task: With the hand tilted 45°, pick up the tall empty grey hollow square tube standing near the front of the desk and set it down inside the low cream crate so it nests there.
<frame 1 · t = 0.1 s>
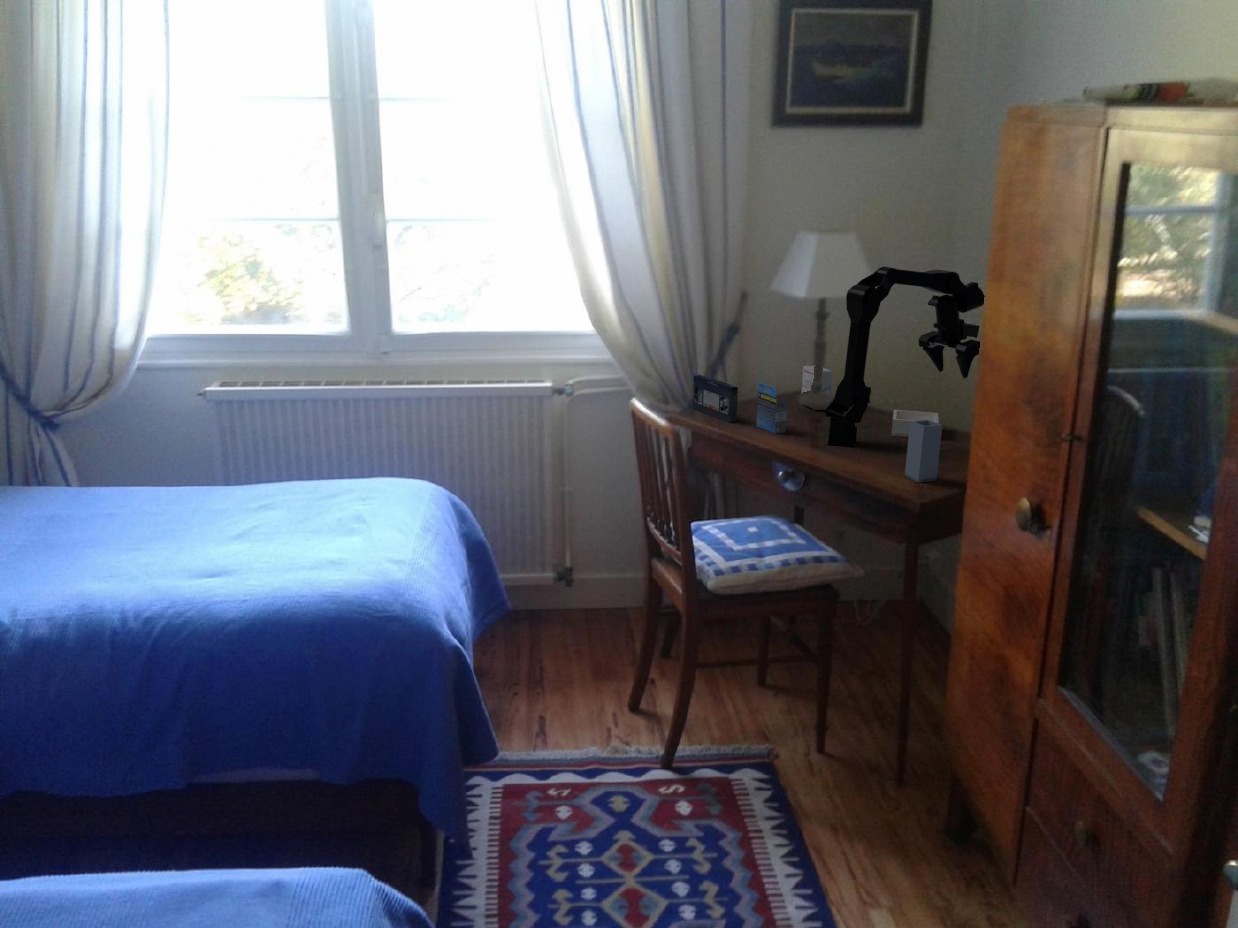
hand: (953, 374, 282), 15 cm above the table, tool pointing down, fingers open, 9 cm apart
cream crate: (914, 432, 285), on the table
grey hollow square tube: (920, 478, 244), on the table
label tape box: (770, 430, 284), on the table
ink box: (814, 408, 310), on the table
vhs cassette tape: (713, 416, 298), on the table
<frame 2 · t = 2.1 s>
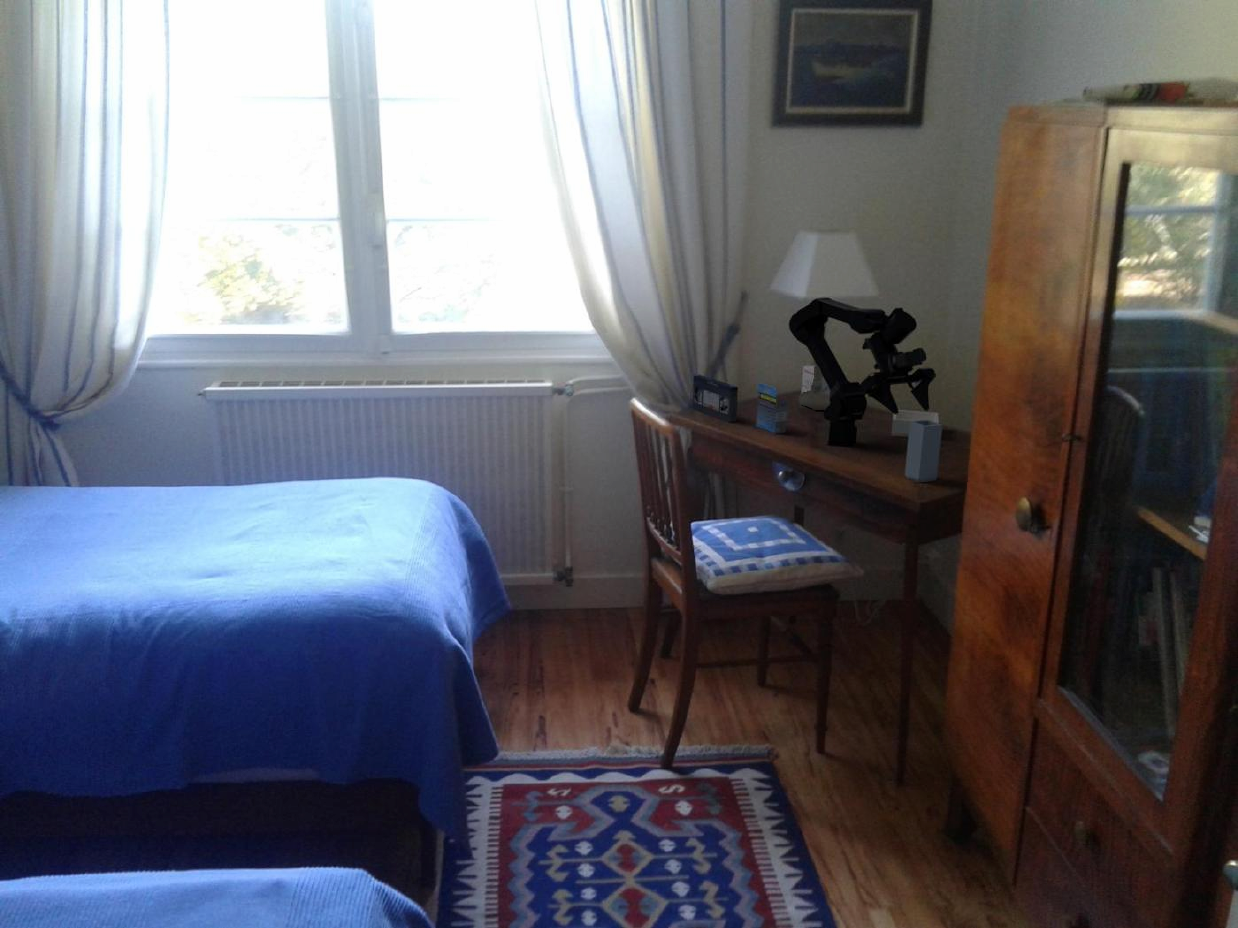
hand: (912, 411, 248), 14 cm above the table, tool tilted 45°, fingers open, 9 cm apart
nothing on the table moved.
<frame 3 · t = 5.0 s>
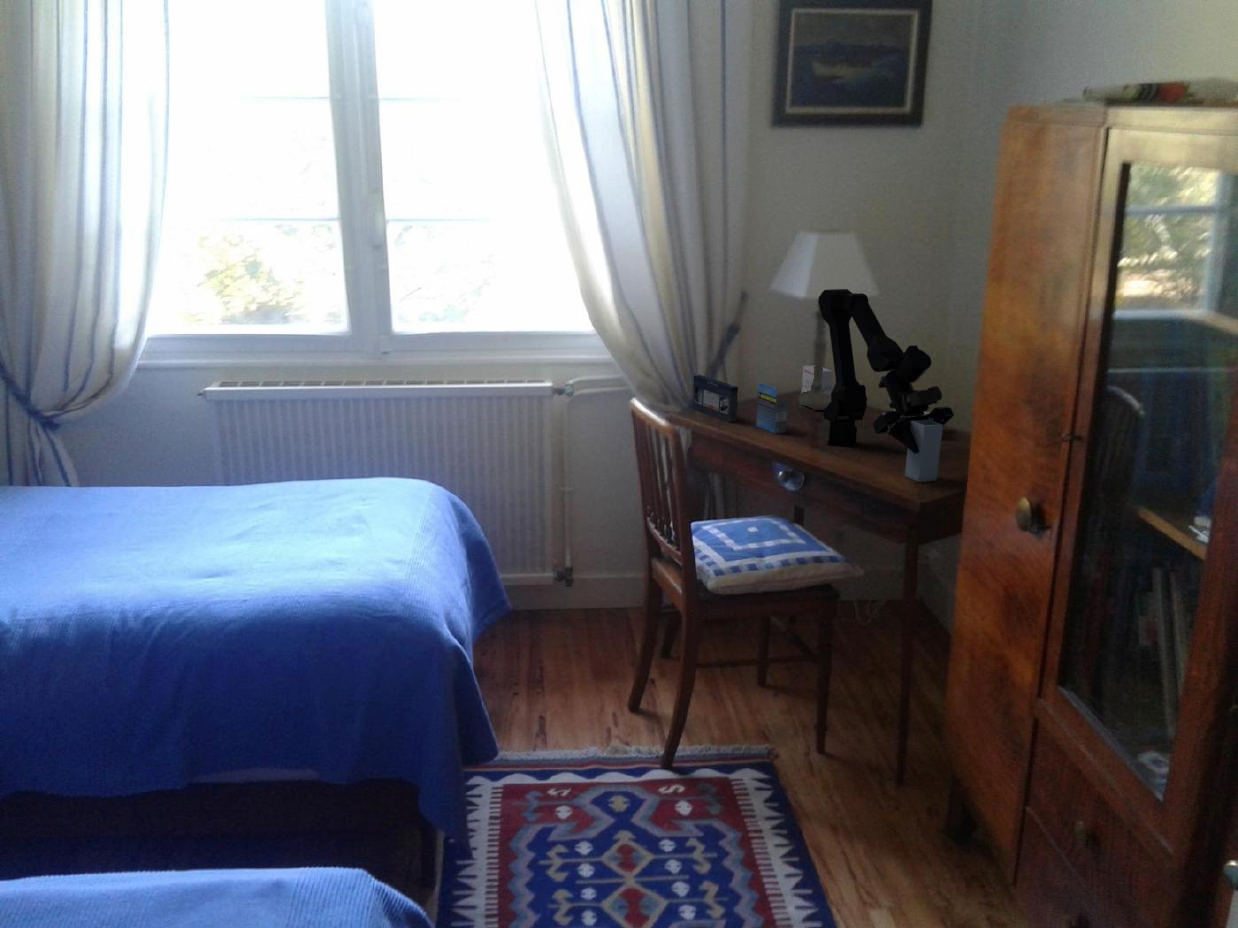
hand: (927, 451, 241), 7 cm above the table, tool tilted 45°, fingers closed on grey hollow square tube, 5 cm apart
grey hollow square tube: (920, 478, 244), on the table, touching gripper
everything else where it was.
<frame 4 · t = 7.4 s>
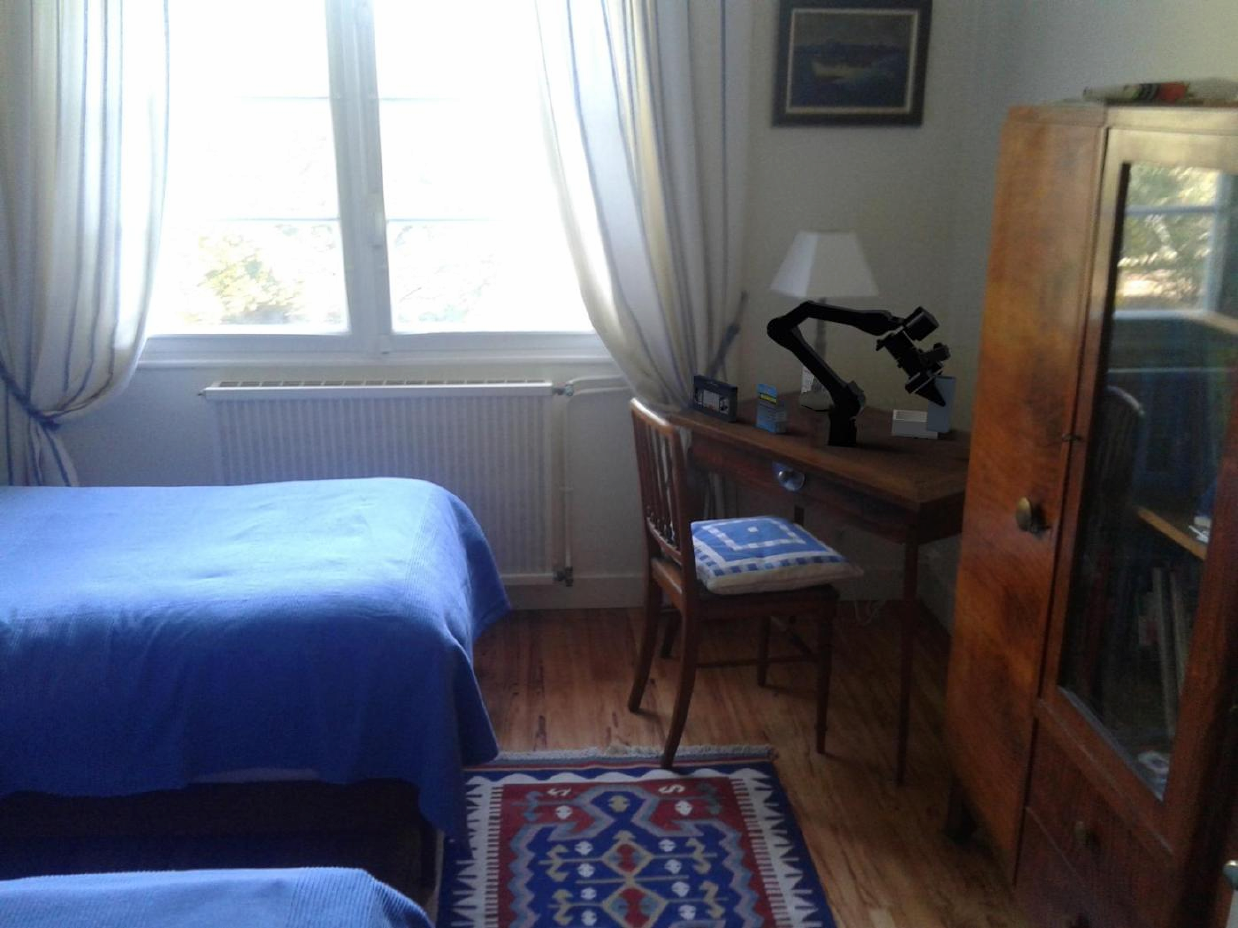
hand: (946, 403, 258), 13 cm above the table, tool tilted 45°, fingers closed on grey hollow square tube, 5 cm apart
grey hollow square tube: (937, 429, 260), point 7 cm above the table, touching gripper
everything else where it was.
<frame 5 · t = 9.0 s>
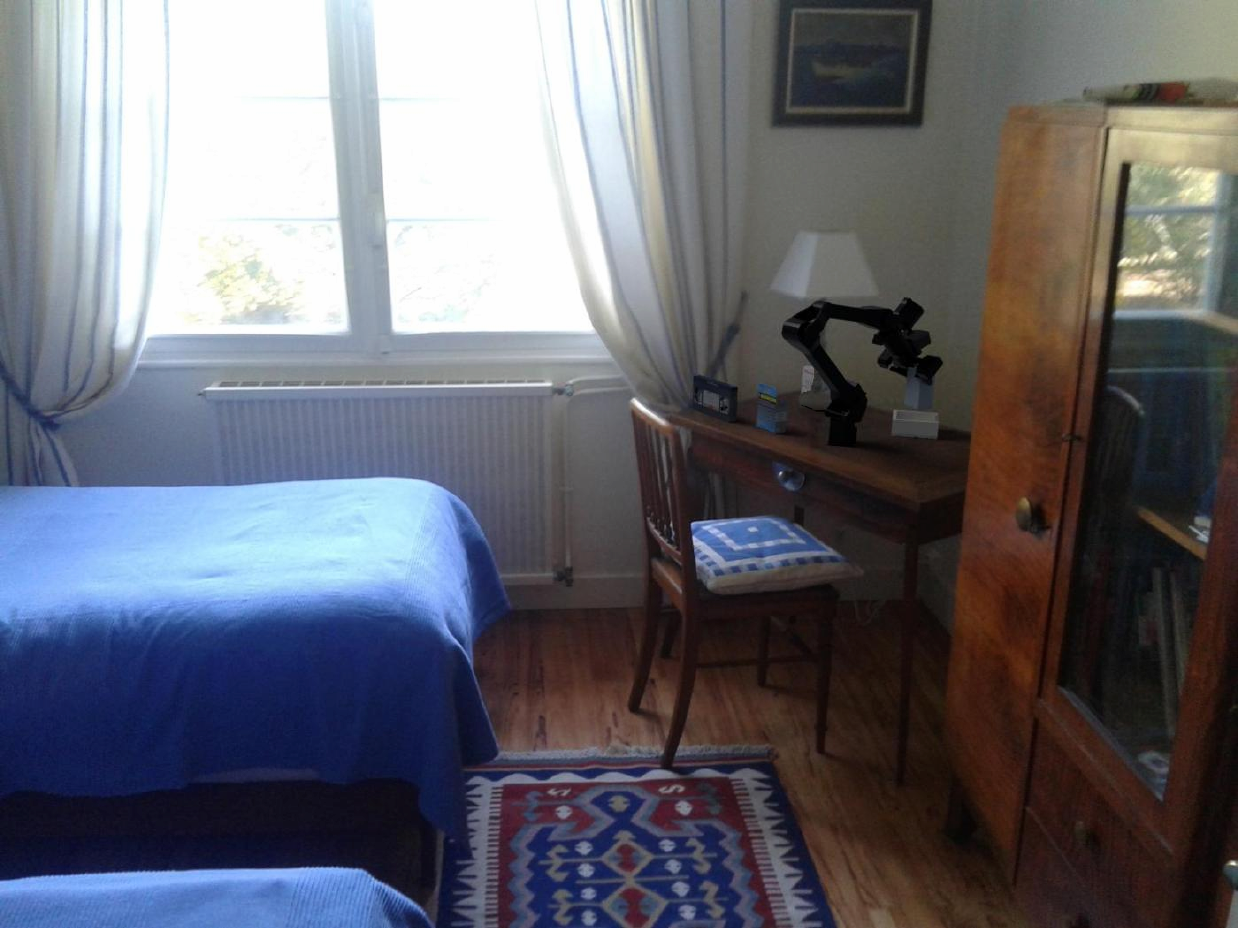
hand: (923, 382, 281), 13 cm above the table, tool tilted 45°, fingers closed on grey hollow square tube, 5 cm apart
grey hollow square tube: (917, 407, 282), point 7 cm above the table, touching gripper
everything else where it was.
when the fingers open (9 cm above the table, at t = 10.2 s): grey hollow square tube drops 1 cm, resting on cream crate.
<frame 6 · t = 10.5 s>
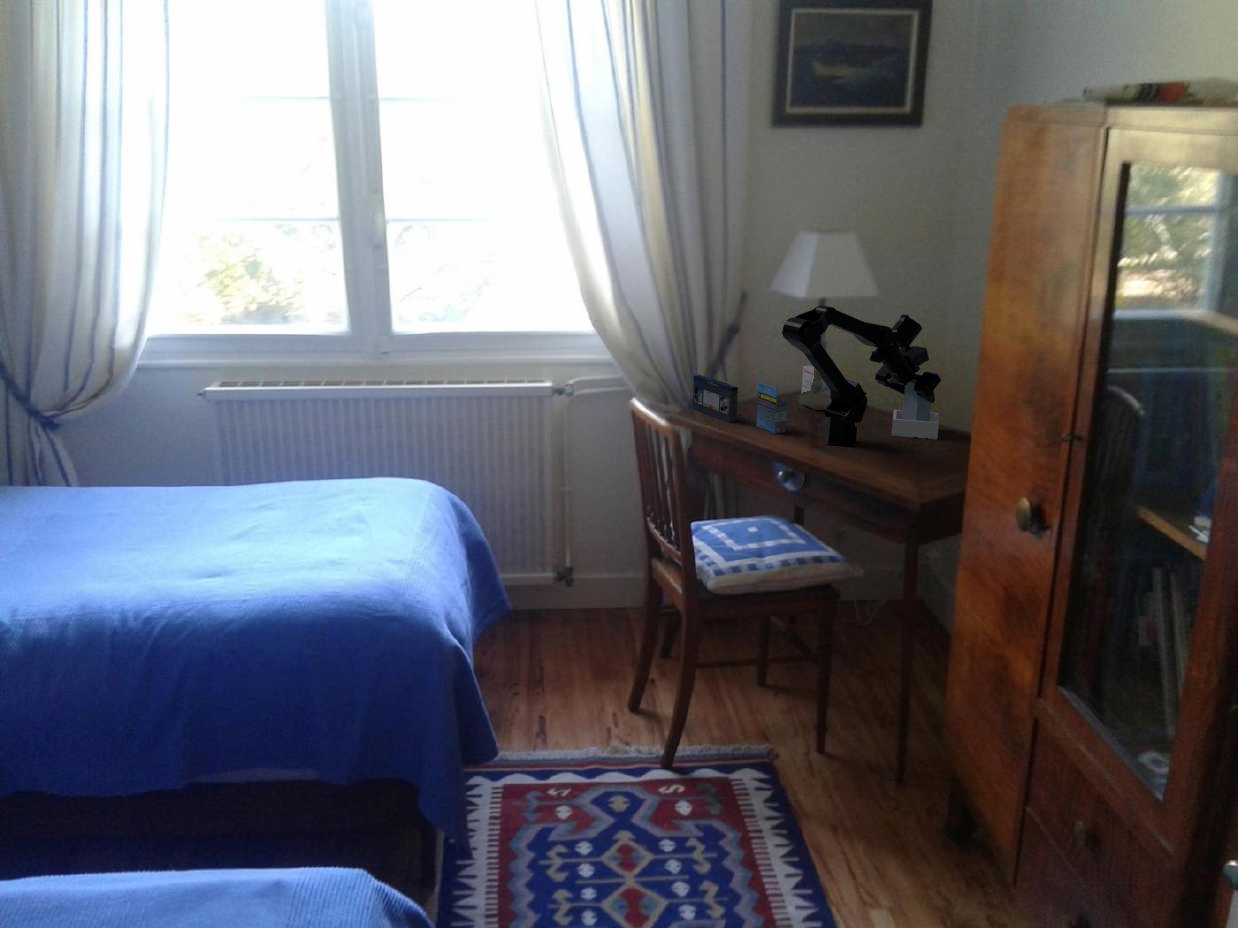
hand: (921, 398, 283), 9 cm above the table, tool tilted 45°, fingers open, 8 cm apart
grey hollow square tube: (914, 429, 284), point 1 cm above the table, touching cream crate
everything else where it was.
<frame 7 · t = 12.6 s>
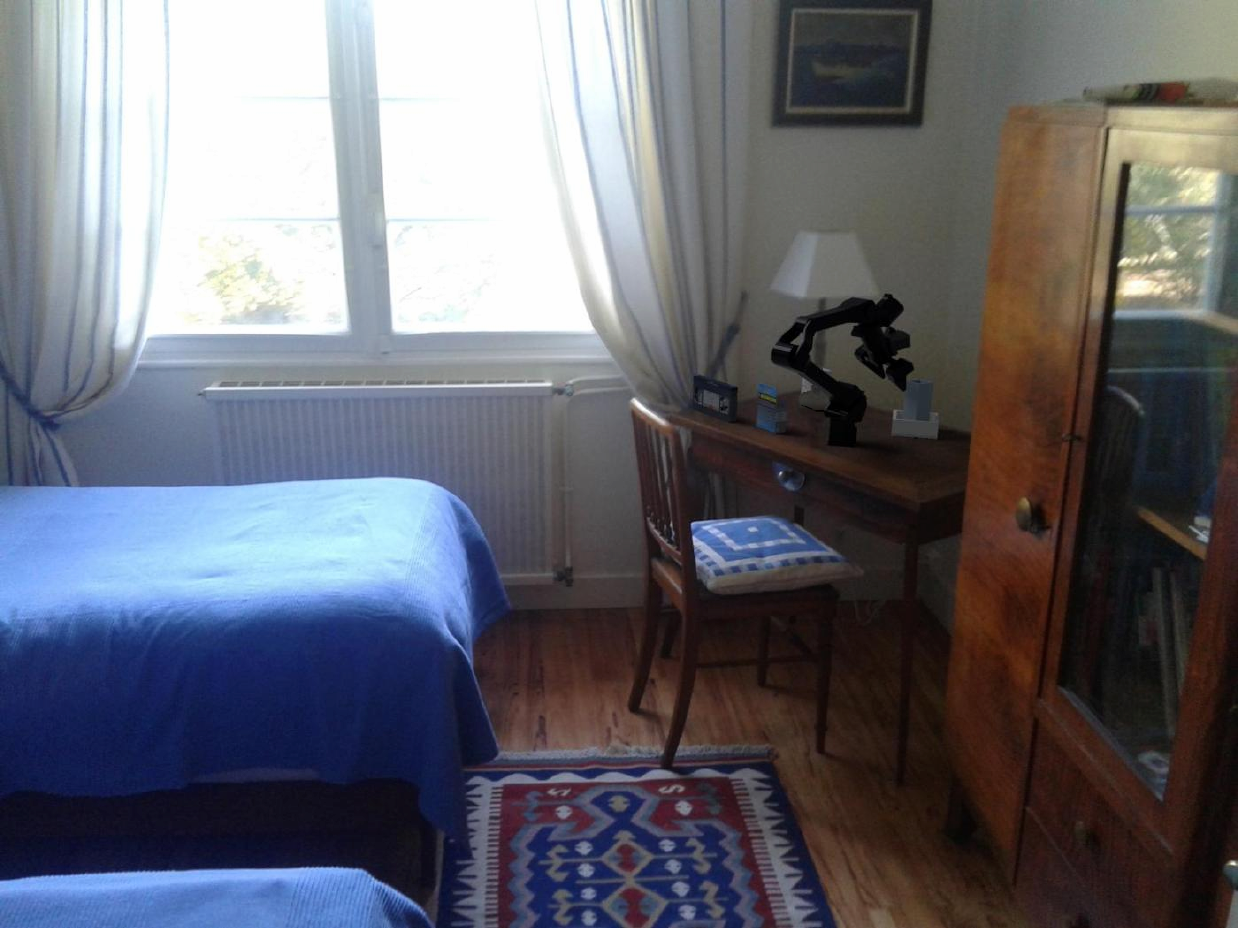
hand: (894, 384, 278), 13 cm above the table, tool tilted 35°, fingers open, 9 cm apart
nothing on the table moved.
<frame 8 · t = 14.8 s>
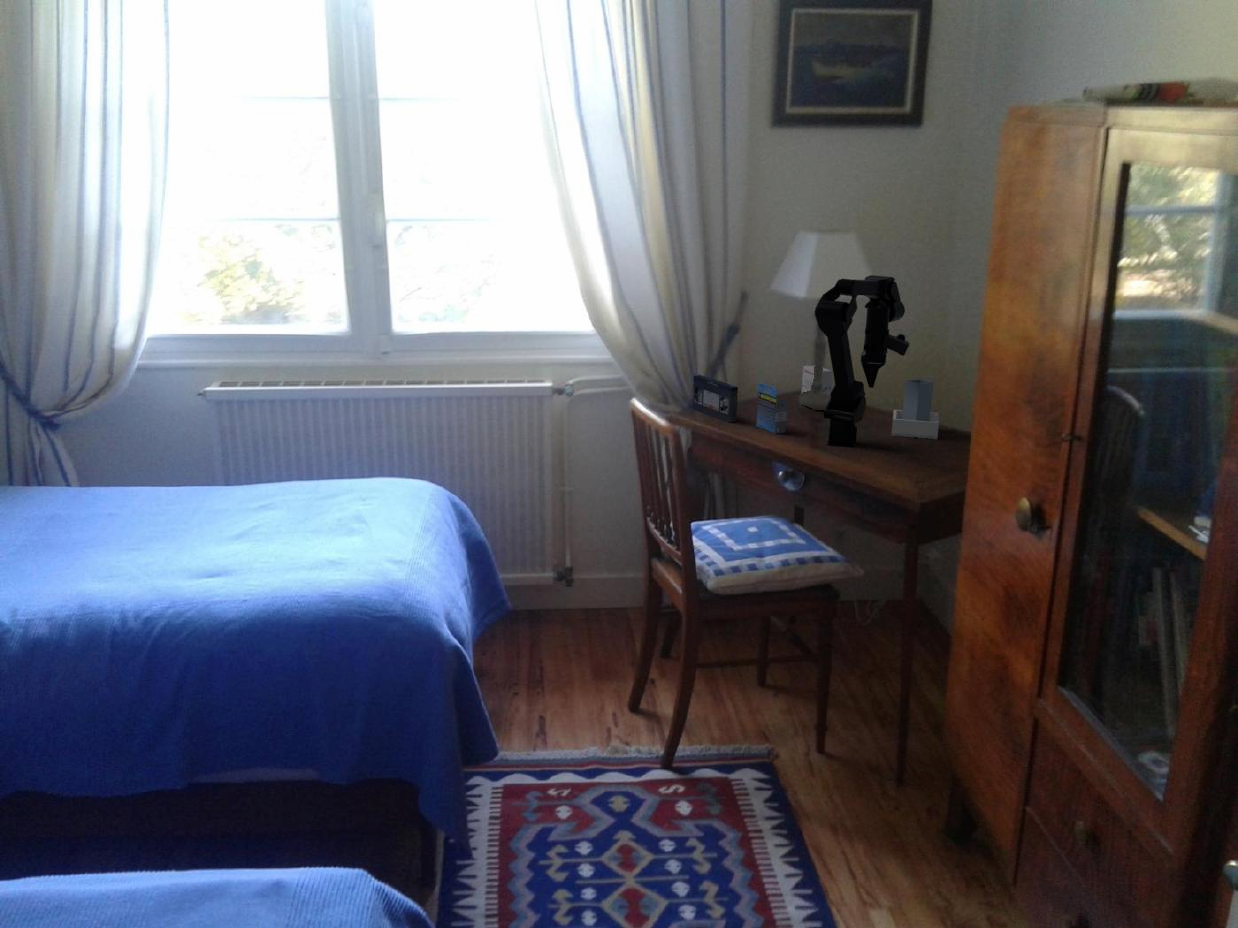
hand: (871, 384, 280), 13 cm above the table, tool pointing down, fingers open, 9 cm apart
nothing on the table moved.
at the end: grey hollow square tube 0.0 cm off-centre on the cream crate, point 0.8 cm above the cream crate's base; grey hollow square tube tilted 0°; the gripper is holding nothing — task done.
